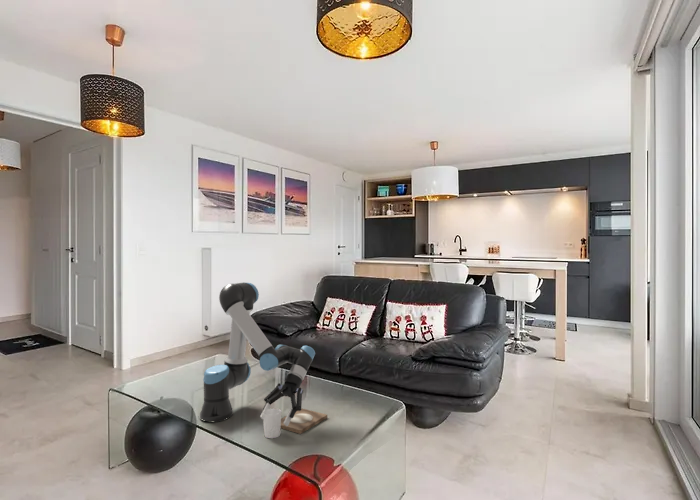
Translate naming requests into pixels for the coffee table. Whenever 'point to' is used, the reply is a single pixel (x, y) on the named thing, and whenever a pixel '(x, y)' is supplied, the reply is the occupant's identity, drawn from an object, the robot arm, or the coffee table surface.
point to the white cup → (272, 422)
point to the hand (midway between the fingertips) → (273, 421)
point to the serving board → (303, 420)
